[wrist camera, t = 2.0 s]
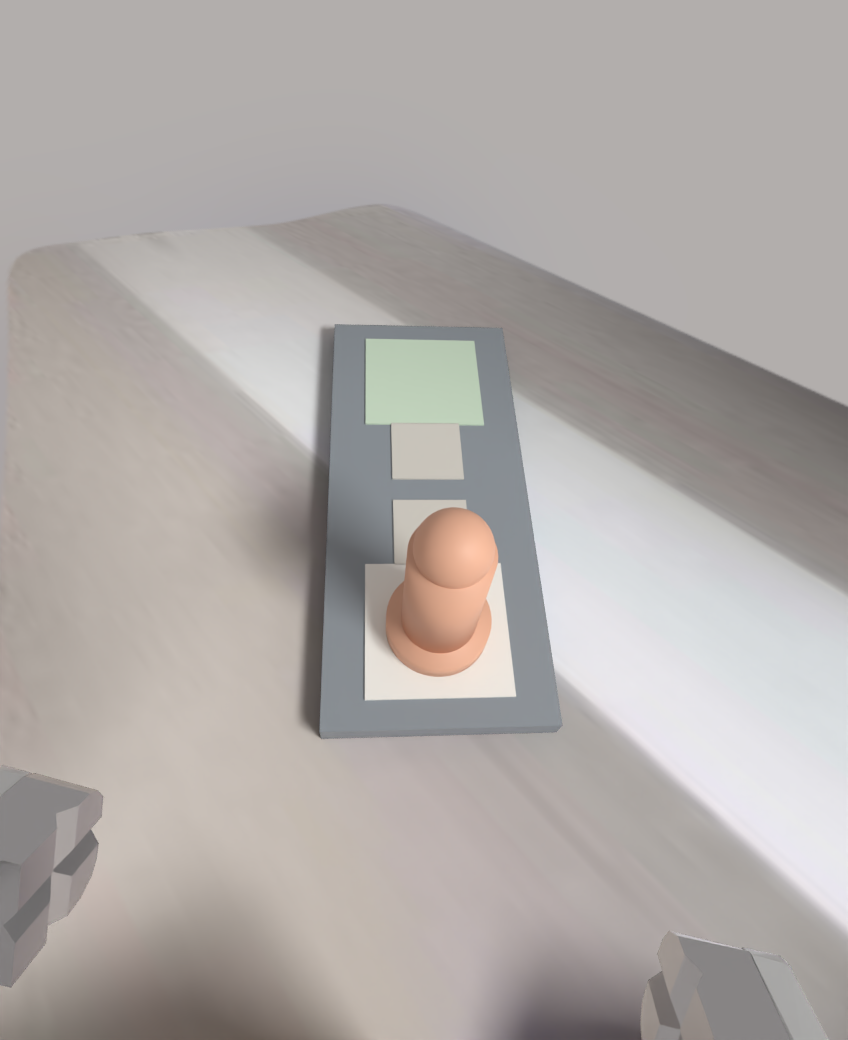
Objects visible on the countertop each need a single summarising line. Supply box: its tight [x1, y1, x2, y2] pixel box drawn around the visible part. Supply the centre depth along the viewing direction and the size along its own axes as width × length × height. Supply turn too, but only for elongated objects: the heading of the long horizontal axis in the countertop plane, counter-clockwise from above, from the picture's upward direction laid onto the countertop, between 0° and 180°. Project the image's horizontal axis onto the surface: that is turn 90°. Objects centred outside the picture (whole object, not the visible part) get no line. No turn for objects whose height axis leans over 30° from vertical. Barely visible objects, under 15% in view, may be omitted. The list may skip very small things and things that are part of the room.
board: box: [319, 324, 562, 739], centre depth 37 cm, size 11×26×1 cm, turn 3°
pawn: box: [386, 507, 498, 677], centre depth 28 cm, size 5×5×9 cm
